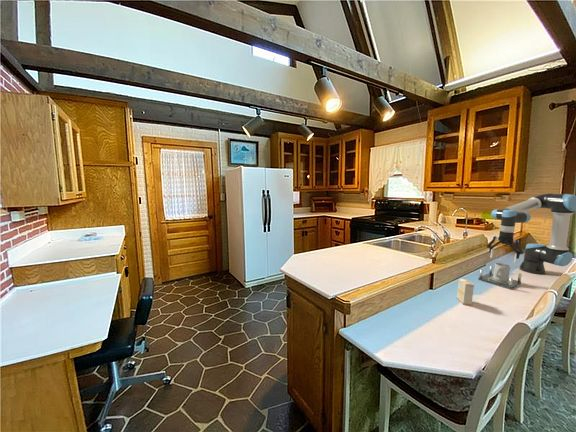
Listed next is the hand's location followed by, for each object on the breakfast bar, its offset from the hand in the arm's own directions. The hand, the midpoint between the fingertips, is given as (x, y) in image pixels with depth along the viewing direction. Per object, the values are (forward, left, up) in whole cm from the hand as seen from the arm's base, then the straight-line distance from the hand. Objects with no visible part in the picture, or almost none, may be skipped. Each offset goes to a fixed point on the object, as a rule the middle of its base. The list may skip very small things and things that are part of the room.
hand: (502, 260), depth 177 cm
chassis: (0, 0, -17) cm, 17 cm away
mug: (0, 0, -15) cm, 15 cm away
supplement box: (+57, +1, -17) cm, 60 cm away
